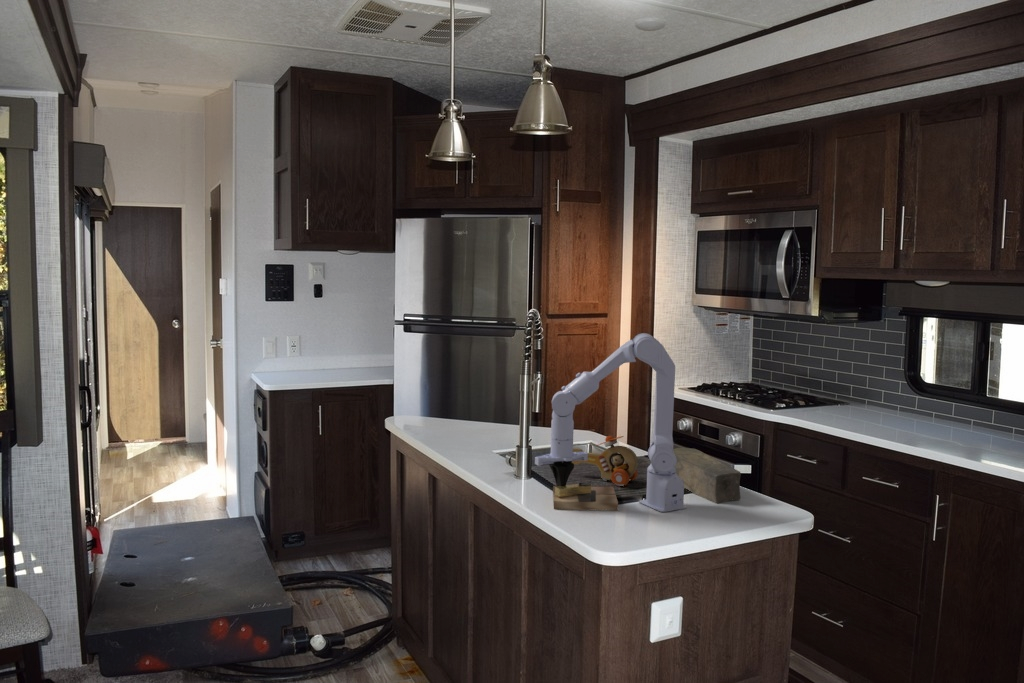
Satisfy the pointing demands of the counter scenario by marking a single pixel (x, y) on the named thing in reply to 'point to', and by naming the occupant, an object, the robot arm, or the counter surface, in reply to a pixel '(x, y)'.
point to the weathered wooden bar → (707, 476)
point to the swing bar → (573, 489)
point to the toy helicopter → (613, 462)
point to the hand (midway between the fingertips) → (560, 489)
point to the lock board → (588, 500)
